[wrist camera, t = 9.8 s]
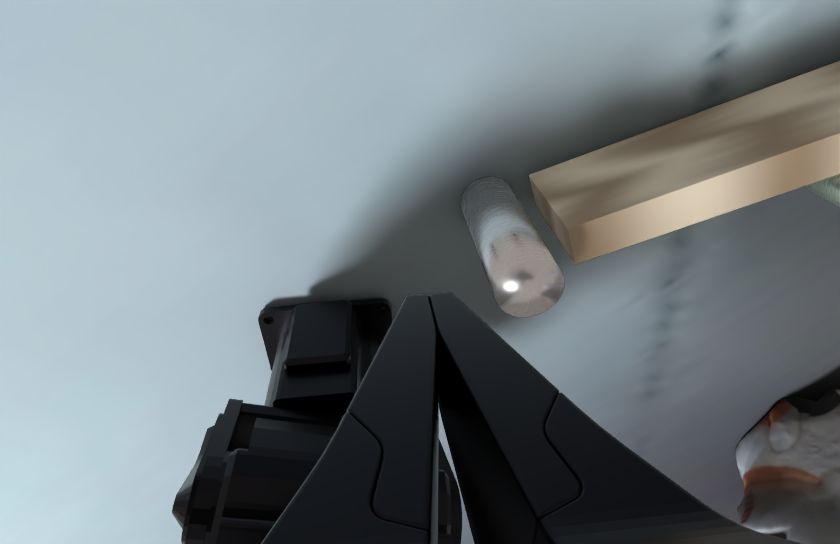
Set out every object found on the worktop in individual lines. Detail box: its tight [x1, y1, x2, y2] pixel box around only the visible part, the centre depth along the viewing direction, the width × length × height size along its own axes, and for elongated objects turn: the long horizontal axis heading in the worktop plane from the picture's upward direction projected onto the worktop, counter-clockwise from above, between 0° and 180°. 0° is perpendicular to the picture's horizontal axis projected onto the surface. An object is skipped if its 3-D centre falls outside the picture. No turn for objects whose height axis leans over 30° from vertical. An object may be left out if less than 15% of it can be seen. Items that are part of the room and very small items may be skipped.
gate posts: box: [461, 174, 840, 317], centre depth 20 cm, size 2×16×7 cm, turn 99°
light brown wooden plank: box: [529, 61, 840, 265], centre depth 19 cm, size 17×2×5 cm, turn 110°
